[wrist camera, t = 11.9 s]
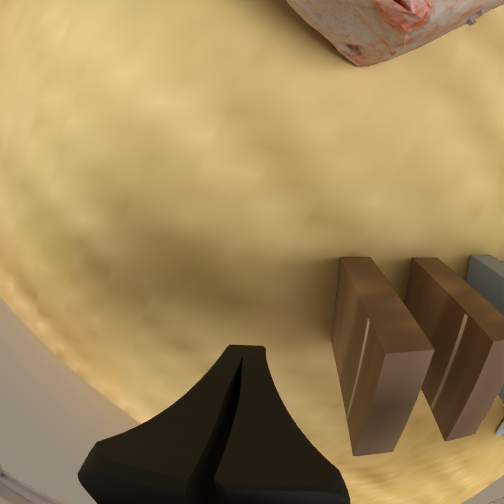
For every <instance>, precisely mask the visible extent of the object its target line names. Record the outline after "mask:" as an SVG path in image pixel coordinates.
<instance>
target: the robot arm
mask: <svg viewBox="0 0 504 504" xmlns="http://www.w3.org/2000/svg"><path fill="white" fill-rule="evenodd" d="M496 435H497V436H501V435H503V436H504V421H503V422H502V424H501V425H500V427H499V429H498V430H497V432H496ZM78 479H79V481H80V483H81V484H82V486H83V487H84V488H85V490H86V491H87V492H88V493H89V494H90V496H91V497H92V498H93V499H94V500H95V501H96V502H97V504H350V497H349V494H348V490H347V487H346V485H345V482H344V480H343V478H342V475H341V473H340V471H339V470H338V469H337V468H336V467H335V466H334V465H333V464H331V463H330V462H329V461H328V460H327V459H326V458H325V457H324V456H323V455H322V454H321V453H320V452H319V451H318V450H317V449H316V448H315V447H314V446H313V445H312V444H311V442H310V441H309V440H308V439H307V438H306V436H305V435H304V434H303V433H302V431H301V430H300V429H299V428H298V426H297V425H296V423H295V422H294V420H293V419H292V417H291V416H290V414H289V413H288V411H287V409H286V407H285V406H284V404H283V402H282V400H281V398H280V396H279V394H278V392H277V390H276V387H275V385H274V382H273V380H272V377H271V374H270V371H269V368H268V364H267V360H266V348H264V347H263V346H249V345H229V346H228V347H227V348H226V349H225V351H224V352H223V353H222V355H221V356H220V357H219V359H218V360H217V361H216V362H215V364H214V365H213V366H212V367H211V368H210V370H209V371H208V372H207V373H206V374H205V375H204V376H203V377H202V378H201V380H200V381H198V382H197V383H196V384H195V385H194V386H193V387H192V388H191V389H190V390H189V391H188V392H187V393H186V394H185V395H184V396H183V397H181V398H180V399H179V400H178V401H176V402H175V403H174V404H173V405H171V406H170V407H168V408H167V409H166V410H164V411H163V412H161V413H160V414H158V415H157V416H155V417H153V418H152V419H150V420H148V421H147V422H145V423H143V424H141V425H139V426H137V427H135V428H133V429H130V430H128V431H126V432H124V433H121V434H119V435H116V436H113V437H110V438H107V439H105V440H102V441H98V442H97V443H96V444H95V446H94V447H93V448H92V449H91V451H90V453H89V454H88V456H87V458H86V460H85V462H84V463H83V465H82V467H81V469H80V470H79V472H78ZM0 504H65V503H63V502H61V501H59V500H57V499H55V498H53V497H51V496H49V495H47V494H45V493H43V492H41V491H39V490H37V489H35V488H34V487H32V486H30V485H28V484H27V483H25V482H23V481H21V480H20V479H18V478H16V477H15V476H13V475H11V474H10V473H8V472H7V471H5V470H4V469H3V467H2V466H1V465H0ZM489 504H504V497H502V498H500V499H498V500H496V501H493V502H491V503H489Z"/></svg>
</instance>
